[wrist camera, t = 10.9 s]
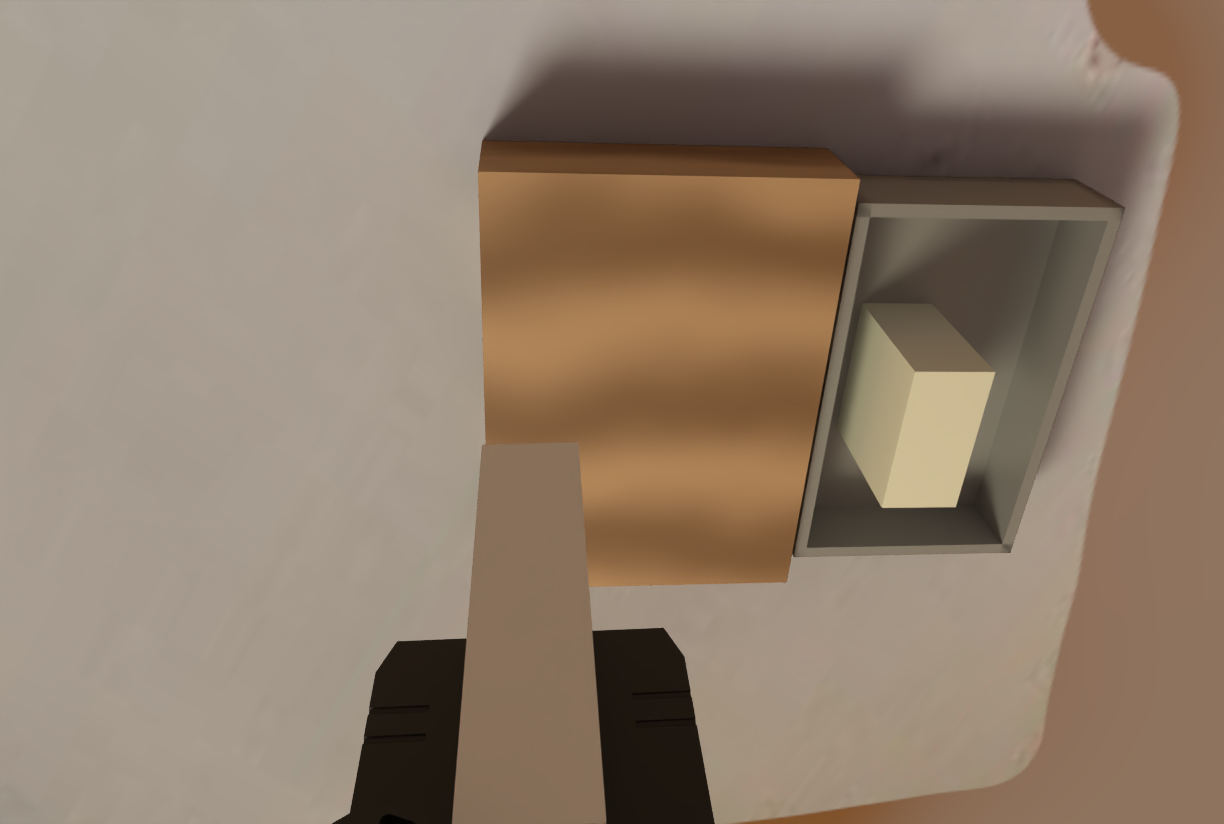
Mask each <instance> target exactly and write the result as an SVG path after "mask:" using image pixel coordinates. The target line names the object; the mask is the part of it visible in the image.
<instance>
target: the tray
mask: <svg viewBox="0 0 1224 824" xmlns="http://www.w3.org/2000/svg"><path fill="white" fill-rule="evenodd" d="M856 176H857V177H858V178H859V179H860V184H859V189H858V195H857V200H856V206H855V211H854V217H853V222H852V228H851V233H850V239H849V244H848V249H847V255H846V260H845V266H844V271H843V277H842V282H841V288H840V293H839V299H838V304H837V310H836V315H835V321H834V326H833V332H832V337H831V343H830V348H829V354H828V359H827V365H826V370H825V375H824V381H823V386H822V392H821V397H820V403H819V408H818V414H817V419H816V425H815V430H814V436H813V441H812V447H811V452H810V458H809V463H808V469H807V474H806V480H805V485H804V491H803V496H802V502H801V507H800V512H799V518H798V523H797V529H796V534H795V540H794V545H793V551H792V554H793V556H794V557H820V556H870V555H919V554H969V553H1010V552H1011V549H1012V546H1013V543H1014V540H1015V537H1016V534H1017V531H1018V528H1019V525H1020V522H1021V519H1022V516H1023V513H1024V510H1025V507H1026V504H1027V501H1028V498H1029V495H1030V492H1031V489H1032V486H1033V483H1034V480H1035V477H1036V474H1037V471H1038V468H1039V465H1040V462H1041V459H1042V456H1043V453H1044V450H1045V447H1046V444H1047V441H1048V438H1049V435H1050V432H1051V429H1052V426H1053V423H1054V420H1055V417H1056V414H1057V411H1058V408H1059V405H1060V402H1061V399H1062V396H1063V393H1064V390H1065V387H1066V384H1067V381H1068V378H1069V375H1070V372H1071V369H1072V366H1073V363H1074V360H1075V357H1076V354H1077V351H1078V348H1079V345H1080V342H1081V339H1082V336H1083V333H1084V330H1085V327H1086V324H1087V321H1088V318H1089V315H1090V312H1091V309H1092V306H1093V303H1094V300H1095V297H1096V294H1097V291H1098V288H1099V285H1100V282H1101V279H1102V276H1103V273H1104V270H1105V268H1106V265H1107V262H1108V259H1109V256H1110V253H1111V250H1112V247H1113V244H1114V241H1115V238H1116V235H1117V232H1118V229H1119V226H1120V223H1121V220H1122V217H1123V214H1124V211H1125V207H1123V206H1121V205H1119V204H1118V203H1116V202H1114V201H1112V200H1111V199H1109V198H1107V197H1105V196H1104V195H1102V194H1100V193H1099V192H1097V191H1095V190H1093V189H1092V188H1090V187H1088V186H1086V185H1085V184H1083V183H1081V182H1079V181H1078V180H1071V179H1022V178H973V177H924V176H876V175H856ZM862 303H906V304H933V305H934V307H935V308H936V309H937V310H938V311H939V312H940V313H941V314H942V315H943V316H944V317H945V318H946V319H947V320H948V322H949V323H950V324H951V325H952V326H953V327H954V328H955V329H956V330H957V331H958V332H959V333H960V334H961V336H962V337H963V338H964V339H965V340H966V341H967V342H968V343H969V344H970V345H971V346H972V347H973V348H974V350H975V351H976V352H977V353H978V354H979V355H980V356H981V357H982V358H983V359H984V360H985V361H986V362H987V364H988V365H989V366H990V367H991V368H992V369H993V370H994V371H995V375H994V379H993V382H992V386H991V389H990V392H989V396H988V399H987V403H986V406H985V409H984V413H983V416H982V420H981V423H980V426H979V430H978V433H977V437H976V440H975V443H974V447H973V450H972V454H971V457H970V460H969V464H968V467H967V471H966V474H965V477H964V481H963V484H962V488H961V491H960V494H959V498H958V501H957V505H956V507H926V508H882V507H881V506H880V504H879V502H878V500H877V498H876V497H875V495H874V493H873V491H872V489H871V488H870V486H869V484H868V482H867V481H866V479H865V477H864V475H863V473H862V472H861V470H860V468H859V466H858V464H857V463H856V461H855V459H854V457H853V456H852V454H851V452H850V450H849V448H848V447H847V445H846V443H845V441H844V439H843V438H842V436H841V434H840V432H839V430H838V429H837V423H838V419H839V414H840V409H841V404H842V399H843V394H844V389H845V384H846V379H847V374H848V369H849V364H850V359H851V354H852V349H853V345H854V340H855V335H856V330H857V325H858V320H859V315H860V310H861V305H862Z"/></svg>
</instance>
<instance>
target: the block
mask: <svg viewBox="0 0 1224 824" xmlns="http://www.w3.org/2000/svg"><path fill="white" fill-rule="evenodd" d="M994 375H995V371H994V370H993V369H992V368H991V367H990V366H989V365H988V364H987V362H986V361H985V360H984V359H983V358H982V357H981V356H980V355H979V354H978V353H977V352H976V351H975V350H974V348H973V347H972V346H971V345H970V344H969V343H968V342H967V341H966V340H965V339H964V338H963V337H962V336H961V334H960V333H959V332H958V331H957V330H956V329H955V328H954V327H953V326H952V325H951V324H950V323H949V322H948V320H947V319H946V318H945V317H944V316H943V315H942V314H941V313H940V312H939V311H938V310H937V309H936V308H935V307H934V305H933V304H906V303H862V305H861V310H860V315H859V320H858V325H857V330H856V335H855V340H854V345H853V349H852V354H851V359H850V364H849V369H848V374H847V379H846V384H845V389H844V394H843V399H842V404H841V409H840V414H839V419H838V423H837V429H838V430H839V432H840V434H841V436H842V438H843V439H844V441H845V443H846V445H847V447H848V448H849V450H850V452H851V454H852V456H853V457H854V459H855V461H856V463H857V464H858V466H859V468H860V470H861V472H862V473H863V475H864V477H865V479H866V481H867V482H868V484H869V486H870V488H871V489H872V491H873V493H874V495H875V497H876V498H877V500H878V502H879V504H880V506H881V507H882V508H926V507H956V505H957V501H958V498H959V494H960V491H961V488H962V484H963V481H964V477H965V474H966V471H967V467H968V464H969V460H970V457H971V454H972V450H973V447H974V443H975V440H976V437H977V433H978V430H979V426H980V423H981V420H982V416H983V413H984V409H985V406H986V403H987V399H988V396H989V392H990V389H991V386H992V382H993V379H994Z"/></svg>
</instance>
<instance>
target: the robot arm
mask: <svg viewBox="0 0 1224 824" xmlns="http://www.w3.org/2000/svg"><path fill="white" fill-rule="evenodd" d="M332 824H715V823H714V818H713V812H712V807H711V801H710V796H709V790H708V785H707V779H706V774H705V768H704V763H703V757H702V752H701V746H700V741H699V735H698V730H697V725H696V722H695V713H694V708H693V702H692V697H691V695H690V685H689V680H688V674H687V669H686V663H685V658H684V656H683V654H682V653H681V651H680V650H679V649H678V647H677V646H676V644H675V643H674V642H673V640H672V639H671V638H670V636H669V635H668V633H667V632H666V631H665V629H664V628H650V629H627V630H603V631H592V621H591V607H590V594H589V580H588V567H587V553H586V540H585V526H584V513H583V499H582V486H581V472H580V459H579V445H578V442H567V443H532V444H496V445H482V452H481V465H480V477H479V490H478V503H477V515H476V528H475V540H474V553H473V565H472V578H471V590H470V603H469V616H468V628H467V639H444V640H421V641H398V642H397V643H396V644H395V645H394V647H393V648H392V650H391V651H390V653H389V654H388V656H387V657H386V658H385V660H384V661H383V663H382V664H381V666H380V667H379V669H378V670H377V671H376V673H375V679H374V684H373V690H372V695H371V701H370V706H369V715H368V717H367V723H366V728H365V734H364V744H363V745H362V750H361V755H360V761H359V766H358V772H357V777H356V783H355V788H354V794H353V799H352V805H351V810H350V813H349V814H348V815H346V816H344V817H342V818H341V819H339V820H337V821H336V822H334V823H332Z"/></svg>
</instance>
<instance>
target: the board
mask: <svg viewBox="0 0 1224 824" xmlns="http://www.w3.org/2000/svg"><path fill="white" fill-rule="evenodd" d="M859 184H860V179H859V178H858V177H857V176H856V175H855V174H854V173H853V172H852V171H851V170H850V169H849V168H848V167H847V166H846V165H844V164H843V163H842V162H841V161H840V160H839V159H838V158H837V157H836V156H835V155H834V154H833V153H832V152H831V151H830V150H828V149H827V148H790V147H747V146H704V145H661V144H618V143H575V142H532V141H489V140H482V146H481V154H480V161H479V169H478V185H479V220H480V256H481V291H482V327H483V362H484V398H485V433H486V445H496V444H532V443H567V442H578V445H579V459H580V472H581V486H582V499H583V513H584V526H585V540H586V553H587V567H588V580H589V587H596V586H640V585H684V584H728V583H772V582H787V578H788V573H789V567H790V562H791V556H792V551H793V545H794V540H795V534H796V529H797V523H798V518H799V512H800V507H801V502H802V496H803V491H804V485H805V480H806V474H807V469H808V463H809V458H810V452H811V447H812V441H813V436H814V430H815V425H816V419H817V414H818V408H819V403H820V397H821V392H822V386H823V381H824V375H825V370H826V365H827V359H828V354H829V348H830V343H831V337H832V332H833V326H834V321H835V315H836V310H837V304H838V299H839V293H840V288H841V282H842V277H843V271H844V266H845V260H846V255H847V249H848V244H849V239H850V233H851V228H852V222H853V217H854V211H855V206H856V200H857V195H858V189H859Z"/></svg>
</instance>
